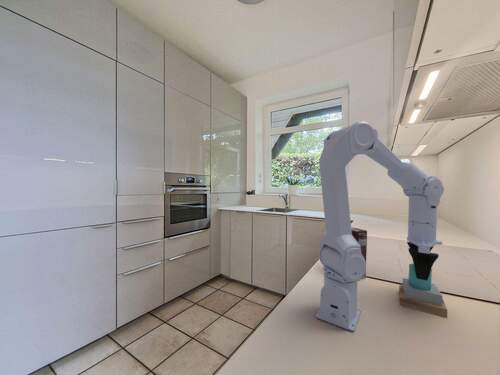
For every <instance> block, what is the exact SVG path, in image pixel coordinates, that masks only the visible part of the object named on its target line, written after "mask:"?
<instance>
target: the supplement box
mask: <svg viewBox="0 0 500 375" xmlns="http://www.w3.org/2000/svg"><path fill="white" fill-rule="evenodd" d="M351 231H352V236H353V237H354V238H355V240H356V241H357V242H358V244H359V245H360V247H361V253H362V256H363V257H364V259H365V261H366V262H367V252H368V251H367V248H368V247H367V245H368V230H367V229H361V228H357V227H353V226H351ZM366 278H367V269H366V270H365V273H364V275H363V276H362V277H361V278H360V280H362V279H366Z"/></svg>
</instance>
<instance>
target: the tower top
mask: <svg viewBox="0 0 500 375" xmlns="http://www.w3.org/2000/svg"><path fill="white" fill-rule="evenodd" d="M401 285H402V287H403V290H404V293H405V296H406V298H409V299H414V300H418V301H423V302H427V303H431V304H436V305H440V306H442V298H443V294H442V293H441V291H440V289H438V287H437V285H436V284H435V283H432V282H431V290H420V289H417V288H414V287H412V286H410V285H409V278H405V277H402V284H401Z"/></svg>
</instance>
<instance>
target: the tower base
mask: <svg viewBox="0 0 500 375" xmlns="http://www.w3.org/2000/svg"><path fill="white" fill-rule="evenodd" d="M398 290H399V291H398V292H399V293H398V294H399V296H398V299H399V300H398V301H399V306H403V307H407V308H410V309H414V310H417V311H420V312H421V311H422V312H425V313H429V314H430V315H431V314H433V315H435V316H439V317H443V318H448V309H447V305H446V304H445V301H444V299H443V297H442V306H440V305H436V304H431V303H427V302H423V301H418V300H414V299H409V298H406V296H405V293H404V290H403V287H402V284H399V287H398Z"/></svg>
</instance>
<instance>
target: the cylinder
mask: <svg viewBox="0 0 500 375" xmlns="http://www.w3.org/2000/svg"><path fill="white" fill-rule="evenodd" d="M408 265H409V266H408V279H409V285H410V286H412V287H414V288H417V289H420V290H431V283H432V279H433V278H432V276H433V268H431V272H430V275H429V278H428V280H427V281H426V280H422V279H417V277H416V273H415V268H414V264H413V263H409V264H408Z"/></svg>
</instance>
